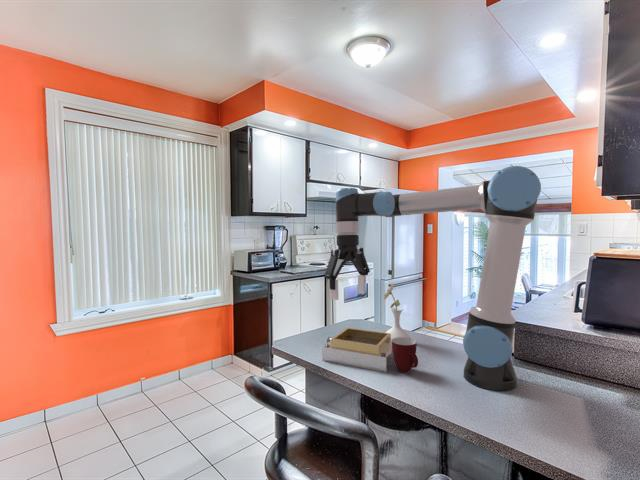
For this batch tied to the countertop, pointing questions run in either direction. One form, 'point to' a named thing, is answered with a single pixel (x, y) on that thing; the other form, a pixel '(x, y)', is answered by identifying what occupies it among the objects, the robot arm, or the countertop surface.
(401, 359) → the mug
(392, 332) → the flower in vase
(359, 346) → the gold rimmed tray box
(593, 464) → the countertop surface
